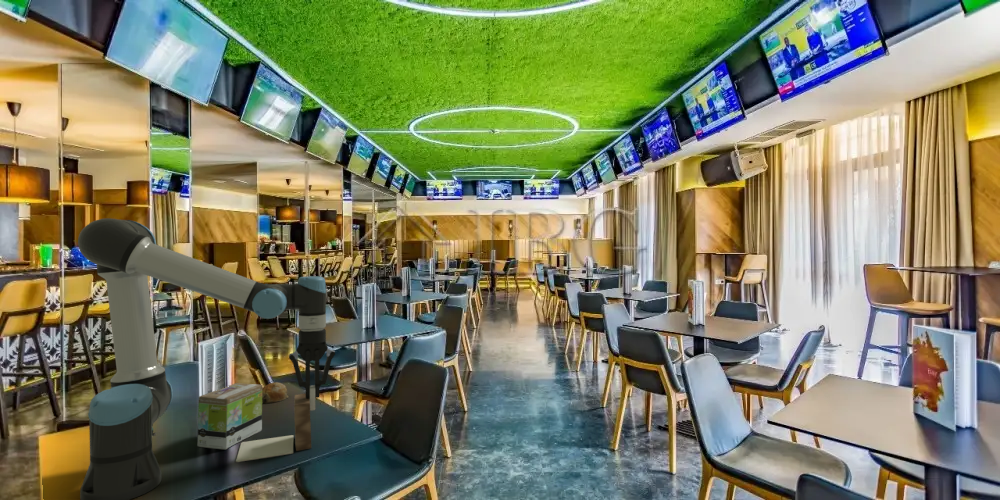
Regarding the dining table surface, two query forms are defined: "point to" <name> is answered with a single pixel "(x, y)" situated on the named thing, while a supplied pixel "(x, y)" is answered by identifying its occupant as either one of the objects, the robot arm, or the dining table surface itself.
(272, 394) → the bread roll
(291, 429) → the dining table surface
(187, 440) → the dining table surface
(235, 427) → the tea box
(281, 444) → the mat
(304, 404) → the slab
